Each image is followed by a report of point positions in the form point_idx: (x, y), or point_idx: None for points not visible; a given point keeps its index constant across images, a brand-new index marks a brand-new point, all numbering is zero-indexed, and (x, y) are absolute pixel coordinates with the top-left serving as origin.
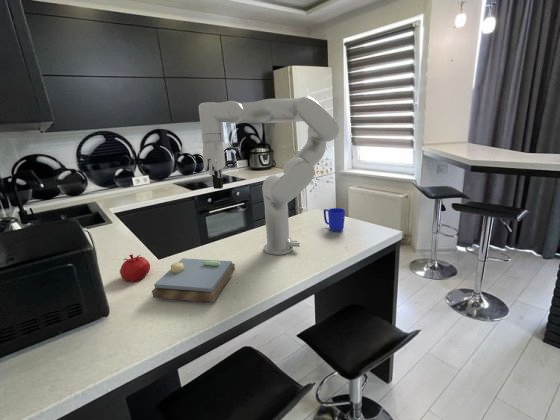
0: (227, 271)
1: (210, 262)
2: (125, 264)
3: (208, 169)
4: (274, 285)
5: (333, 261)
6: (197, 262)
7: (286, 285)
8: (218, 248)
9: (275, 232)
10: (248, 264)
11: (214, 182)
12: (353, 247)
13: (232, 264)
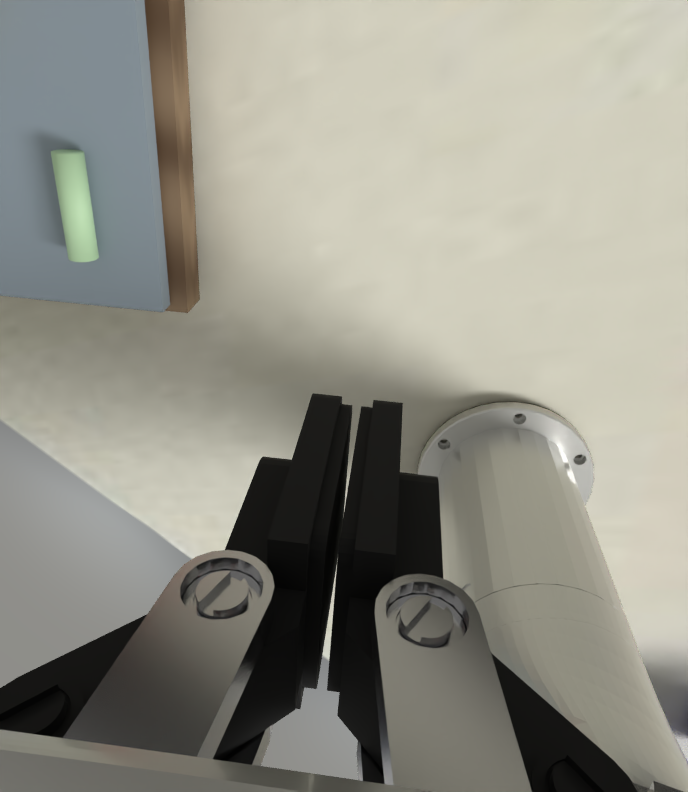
0: None
1: (60, 208)
2: None
3: (74, 781)
4: (132, 471)
5: None
6: (94, 84)
7: (142, 510)
8: (576, 66)
9: (442, 556)
10: (310, 341)
11: (239, 516)
12: None
13: (174, 304)
